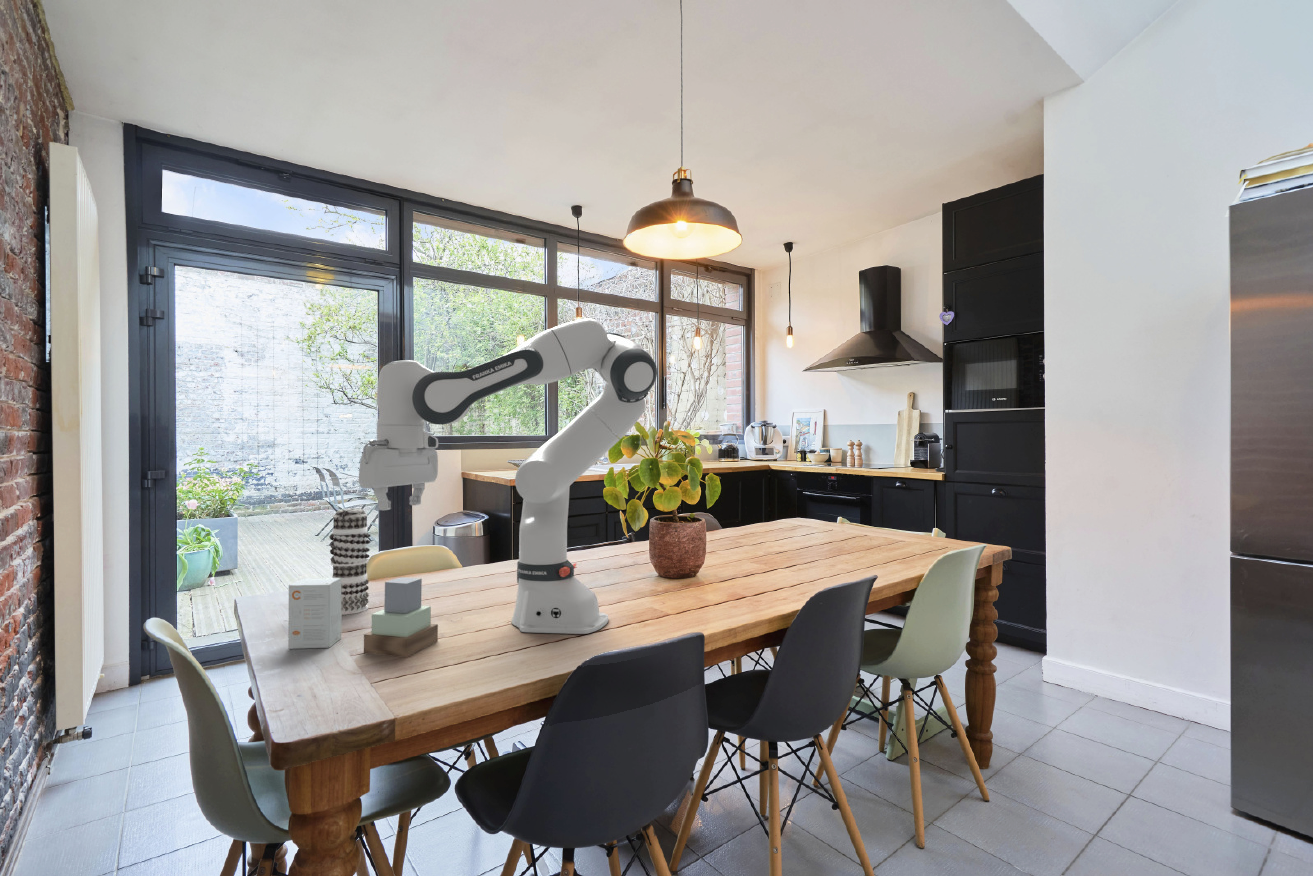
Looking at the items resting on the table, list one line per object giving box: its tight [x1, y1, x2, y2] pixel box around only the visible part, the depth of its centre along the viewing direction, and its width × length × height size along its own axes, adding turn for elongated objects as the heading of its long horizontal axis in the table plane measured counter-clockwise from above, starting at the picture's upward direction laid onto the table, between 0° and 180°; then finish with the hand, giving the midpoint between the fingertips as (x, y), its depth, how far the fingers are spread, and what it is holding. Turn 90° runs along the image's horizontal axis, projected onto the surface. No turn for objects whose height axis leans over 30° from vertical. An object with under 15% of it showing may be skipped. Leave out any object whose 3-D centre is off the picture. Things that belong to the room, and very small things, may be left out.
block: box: [383, 576, 423, 614], centre depth 126 cm, size 5×5×6 cm
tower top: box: [371, 605, 432, 637], centre depth 126 cm, size 8×8×4 cm
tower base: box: [363, 623, 439, 658], centre depth 127 cm, size 10×10×4 cm
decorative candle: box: [328, 507, 371, 616], centre depth 153 cm, size 9×9×25 cm
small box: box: [287, 577, 343, 650], centre depth 128 cm, size 8×6×13 cm
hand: (400, 507), depth 126 cm, fingers open, 8 cm apart
